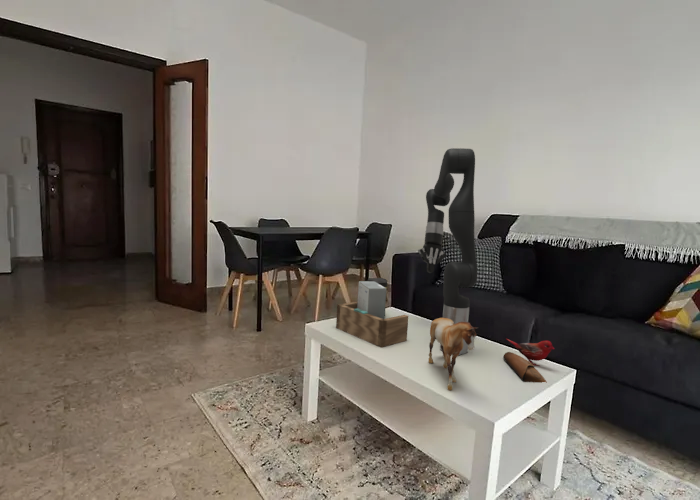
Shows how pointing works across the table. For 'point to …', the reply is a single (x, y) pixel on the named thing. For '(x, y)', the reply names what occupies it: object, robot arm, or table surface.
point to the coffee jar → (379, 281)
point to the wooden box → (371, 325)
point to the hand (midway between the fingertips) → (430, 272)
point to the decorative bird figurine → (534, 350)
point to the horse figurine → (451, 341)
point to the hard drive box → (372, 298)
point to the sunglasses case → (523, 368)
